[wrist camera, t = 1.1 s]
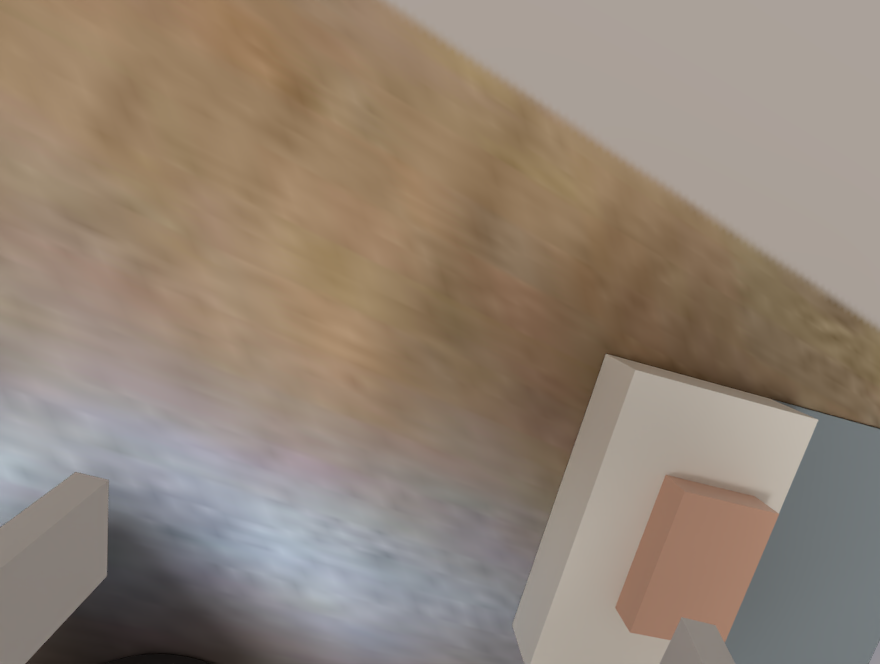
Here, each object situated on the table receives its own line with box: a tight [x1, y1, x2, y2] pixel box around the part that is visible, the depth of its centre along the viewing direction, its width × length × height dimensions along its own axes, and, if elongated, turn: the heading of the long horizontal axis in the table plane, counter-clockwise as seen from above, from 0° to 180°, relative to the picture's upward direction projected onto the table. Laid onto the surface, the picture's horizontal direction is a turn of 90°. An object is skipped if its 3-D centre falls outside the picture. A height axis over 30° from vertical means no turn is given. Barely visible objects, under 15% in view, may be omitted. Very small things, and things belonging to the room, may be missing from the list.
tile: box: [615, 475, 779, 643], centre depth 30 cm, size 9×6×2 cm, turn 164°
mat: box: [725, 399, 880, 664], centre depth 37 cm, size 20×16×1 cm
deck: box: [512, 354, 818, 664], centre depth 33 cm, size 20×12×4 cm, turn 164°
